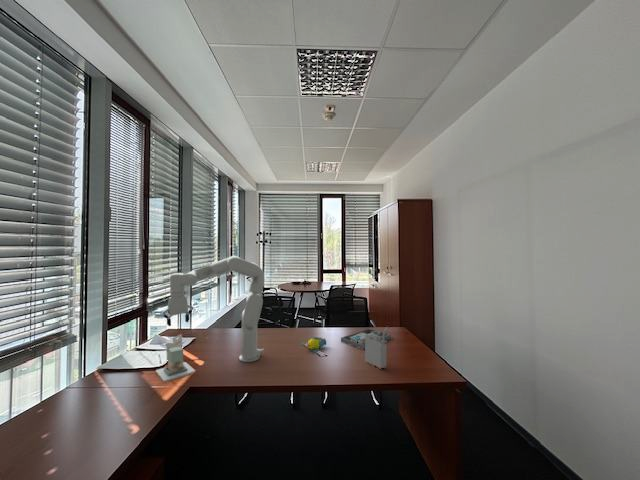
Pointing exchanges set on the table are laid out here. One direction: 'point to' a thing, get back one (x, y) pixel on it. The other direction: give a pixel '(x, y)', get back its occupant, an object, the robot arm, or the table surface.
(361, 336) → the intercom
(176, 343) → the ink cartridge box
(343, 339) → the desk tray
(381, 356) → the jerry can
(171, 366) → the maple block
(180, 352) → the sage block
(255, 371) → the table surface
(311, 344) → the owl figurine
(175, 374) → the baseplate
